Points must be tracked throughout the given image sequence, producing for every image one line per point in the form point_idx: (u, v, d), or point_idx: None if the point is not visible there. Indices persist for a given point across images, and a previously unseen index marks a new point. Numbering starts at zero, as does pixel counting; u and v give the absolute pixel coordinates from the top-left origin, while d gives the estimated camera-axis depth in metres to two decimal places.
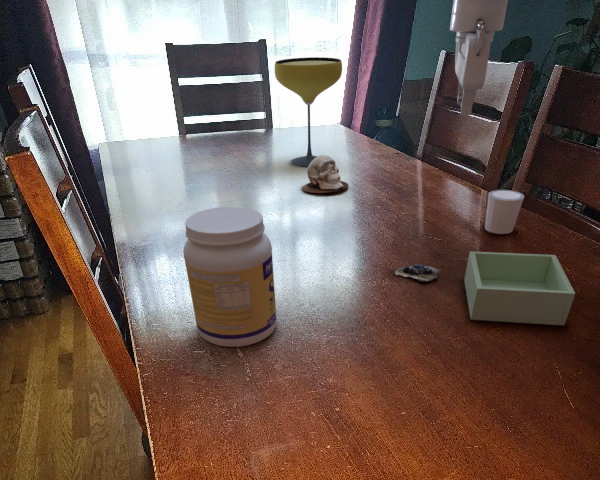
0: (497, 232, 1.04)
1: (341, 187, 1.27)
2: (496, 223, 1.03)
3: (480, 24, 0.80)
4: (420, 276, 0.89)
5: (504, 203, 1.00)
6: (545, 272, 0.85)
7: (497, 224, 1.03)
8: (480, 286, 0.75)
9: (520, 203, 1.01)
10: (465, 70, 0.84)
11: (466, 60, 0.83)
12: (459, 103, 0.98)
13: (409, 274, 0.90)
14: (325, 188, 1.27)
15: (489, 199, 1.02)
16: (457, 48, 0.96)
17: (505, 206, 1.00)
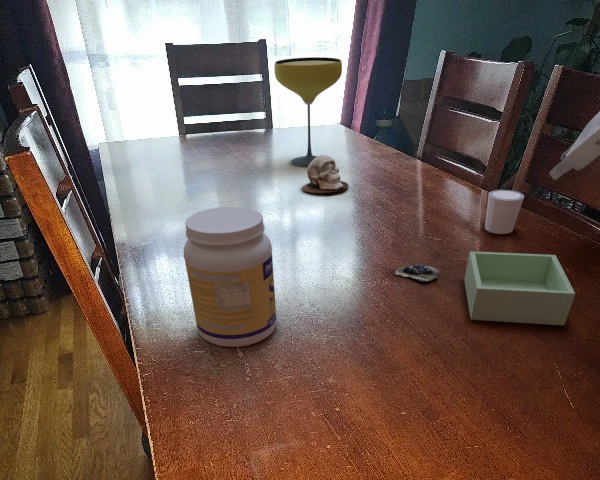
0: (497, 232, 1.04)
1: (341, 187, 1.27)
2: (496, 223, 1.03)
3: None
4: (420, 276, 0.89)
5: (504, 203, 1.00)
6: (545, 272, 0.85)
7: (497, 224, 1.03)
8: (480, 286, 0.75)
9: (520, 203, 1.01)
10: (579, 145, 0.83)
11: (586, 138, 0.82)
12: (562, 157, 0.97)
13: (409, 274, 0.90)
14: (325, 188, 1.27)
15: (489, 199, 1.02)
16: None
17: (505, 206, 1.00)
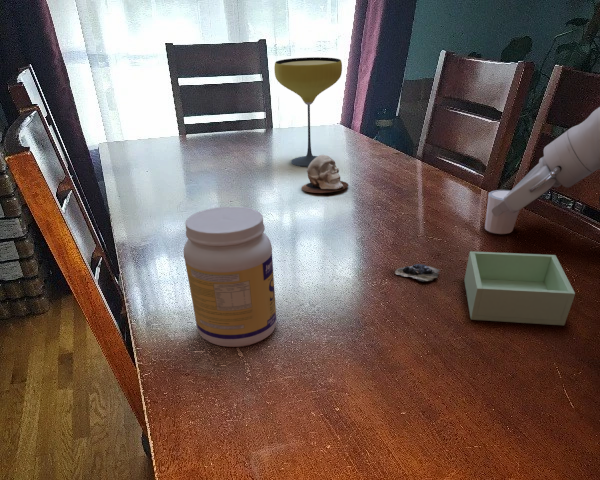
0: (497, 232, 1.04)
1: (341, 187, 1.27)
2: (496, 223, 1.03)
3: (551, 174, 0.88)
4: (420, 276, 0.89)
5: None
6: (545, 272, 0.85)
7: (497, 224, 1.03)
8: (480, 286, 0.75)
9: None
10: (515, 190, 0.92)
11: (522, 185, 0.91)
12: None
13: (409, 274, 0.90)
14: (325, 188, 1.27)
15: (489, 199, 1.02)
16: None
17: None
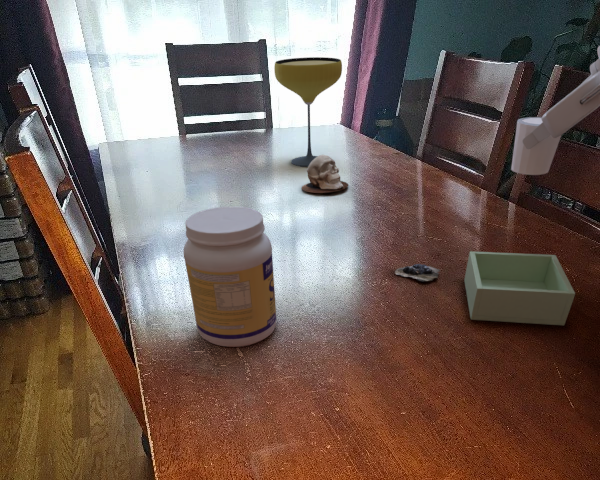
0: (528, 173, 0.79)
1: (341, 187, 1.27)
2: (527, 159, 0.78)
3: None
4: (420, 276, 0.89)
5: None
6: (545, 272, 0.85)
7: (529, 161, 0.78)
8: (480, 286, 0.75)
9: None
10: (558, 104, 0.66)
11: (569, 95, 0.65)
12: None
13: (409, 274, 0.90)
14: (325, 188, 1.27)
15: (518, 127, 0.77)
16: None
17: None
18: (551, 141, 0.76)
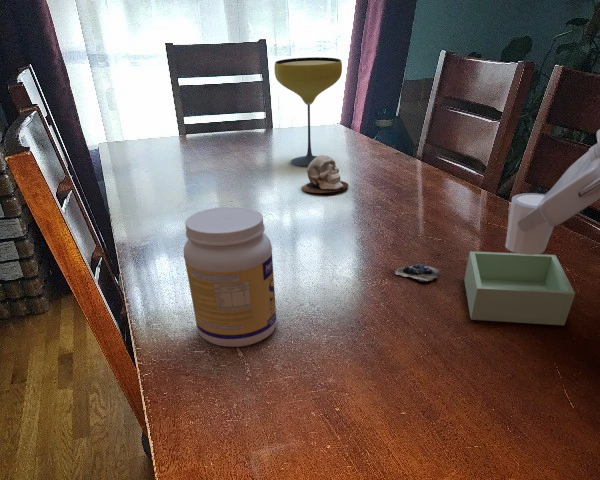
0: (523, 252, 0.74)
1: (341, 187, 1.27)
2: (522, 240, 0.73)
3: None
4: (420, 276, 0.89)
5: None
6: (545, 272, 0.85)
7: (524, 241, 0.73)
8: (480, 286, 0.75)
9: None
10: (555, 194, 0.62)
11: (566, 186, 0.61)
12: None
13: (409, 274, 0.90)
14: (325, 188, 1.27)
15: (513, 206, 0.72)
16: None
17: None
18: None
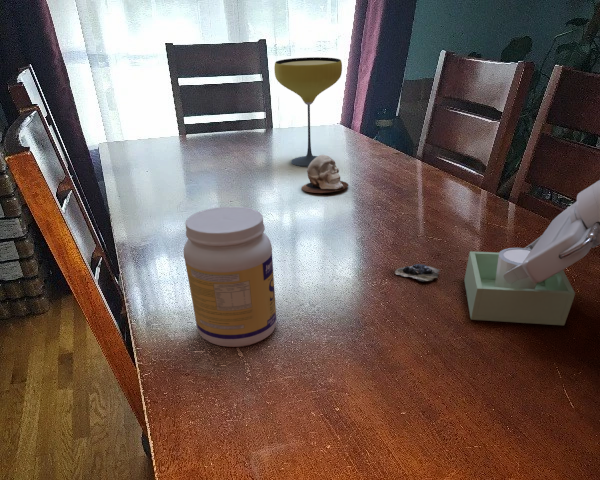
0: None
1: (341, 187, 1.27)
2: None
3: (591, 236, 0.63)
4: (420, 276, 0.89)
5: None
6: None
7: None
8: (480, 286, 0.75)
9: None
10: (538, 255, 0.67)
11: (548, 249, 0.66)
12: None
13: (409, 274, 0.90)
14: (325, 188, 1.27)
15: (499, 262, 0.78)
16: (575, 205, 0.77)
17: None
18: None
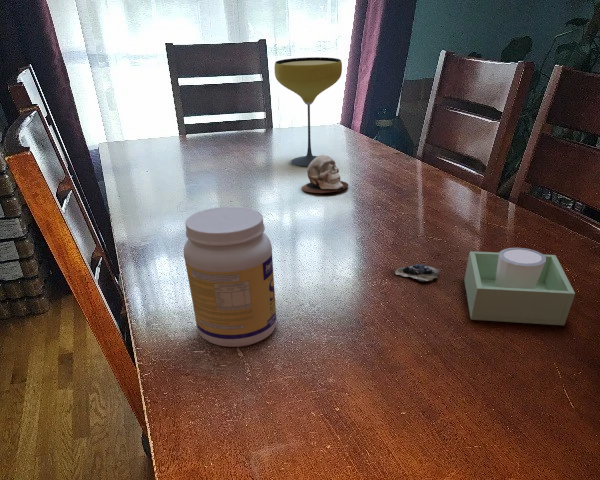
0: None
1: (341, 187, 1.27)
2: None
3: None
4: (420, 276, 0.89)
5: (519, 269, 0.76)
6: (545, 272, 0.85)
7: None
8: (480, 286, 0.75)
9: (541, 268, 0.76)
10: None
11: None
12: None
13: (409, 274, 0.90)
14: (325, 188, 1.27)
15: (499, 262, 0.78)
16: None
17: (521, 273, 0.76)
18: (531, 278, 0.76)
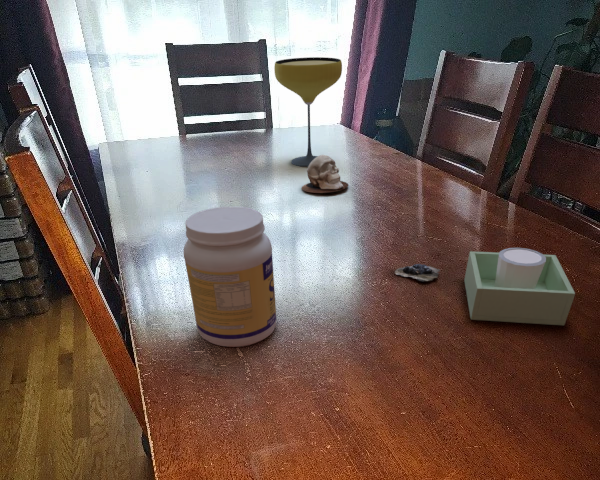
0: None
1: (341, 187, 1.27)
2: None
3: None
4: (420, 276, 0.89)
5: (519, 269, 0.76)
6: (545, 272, 0.85)
7: None
8: (480, 286, 0.75)
9: (541, 268, 0.76)
10: None
11: None
12: None
13: (409, 274, 0.90)
14: (325, 188, 1.27)
15: (499, 262, 0.78)
16: None
17: (521, 273, 0.76)
18: (531, 278, 0.76)
